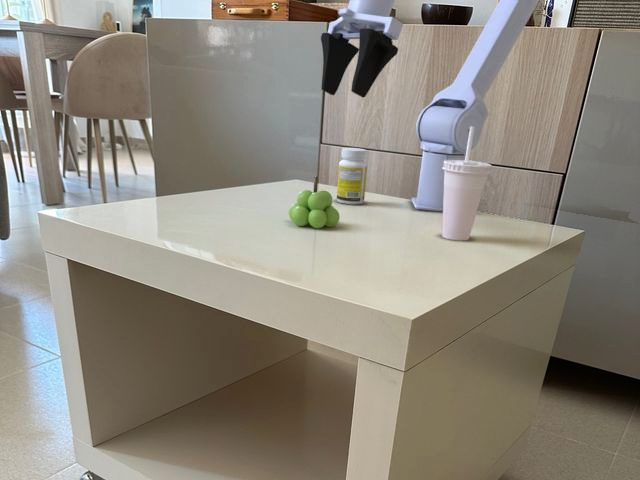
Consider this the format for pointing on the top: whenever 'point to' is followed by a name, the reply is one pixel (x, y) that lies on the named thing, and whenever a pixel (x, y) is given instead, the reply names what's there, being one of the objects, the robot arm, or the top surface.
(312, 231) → the top surface
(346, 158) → the supplement bottle
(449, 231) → the smoothie
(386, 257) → the top surface
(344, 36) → the robot arm
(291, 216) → the grapes
